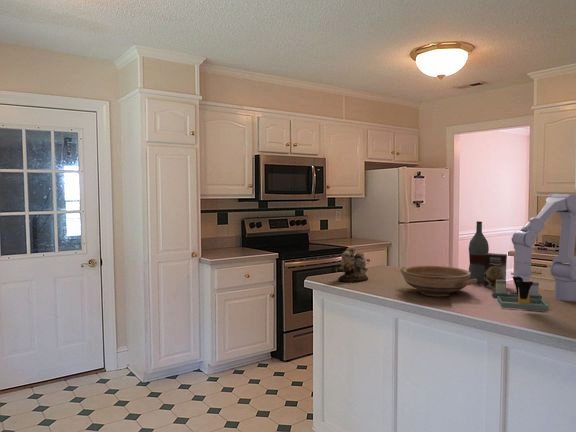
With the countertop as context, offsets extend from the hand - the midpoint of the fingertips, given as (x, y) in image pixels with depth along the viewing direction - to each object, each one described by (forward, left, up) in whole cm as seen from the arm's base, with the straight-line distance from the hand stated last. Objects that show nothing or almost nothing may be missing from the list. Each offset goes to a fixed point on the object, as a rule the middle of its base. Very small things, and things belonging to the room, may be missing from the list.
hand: (521, 296), depth 179 cm
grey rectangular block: (-6, -11, -3) cm, 13 cm away
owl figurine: (+72, -34, -4) cm, 80 cm away
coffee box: (+6, -33, -4) cm, 34 cm away
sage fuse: (+6, -11, -3) cm, 13 cm away
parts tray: (0, 0, -4) cm, 4 cm away
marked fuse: (-1, 0, -3) cm, 3 cm away
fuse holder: (0, -11, -4) cm, 12 cm away
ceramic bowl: (+32, -15, -4) cm, 35 cm away
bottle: (+12, -47, -4) cm, 49 cm away
